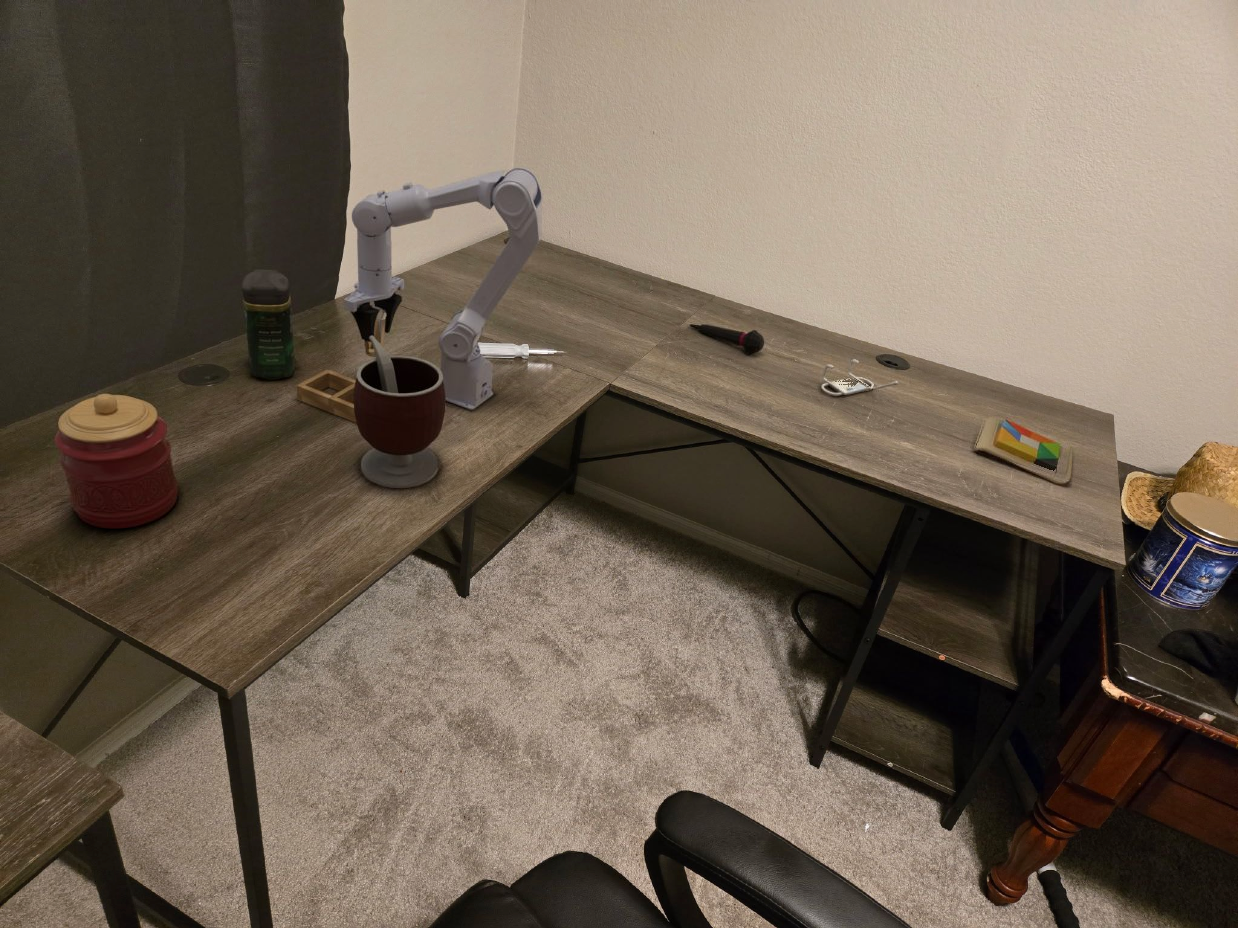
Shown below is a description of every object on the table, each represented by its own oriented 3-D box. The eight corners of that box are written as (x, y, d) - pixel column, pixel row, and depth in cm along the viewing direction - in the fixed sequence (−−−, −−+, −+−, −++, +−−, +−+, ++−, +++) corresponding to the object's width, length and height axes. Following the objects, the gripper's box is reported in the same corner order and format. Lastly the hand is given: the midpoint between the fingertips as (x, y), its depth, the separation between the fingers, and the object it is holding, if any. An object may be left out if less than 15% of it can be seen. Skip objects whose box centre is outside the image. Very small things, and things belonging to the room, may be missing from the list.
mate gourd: (459, 474, 132) (465, 367, 121) (384, 501, 123) (383, 388, 112) (408, 431, 140) (409, 327, 129) (334, 453, 131) (329, 344, 120)
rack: (394, 408, 145) (394, 394, 144) (366, 427, 139) (365, 412, 137) (327, 383, 149) (327, 369, 148) (297, 399, 143) (296, 385, 141)
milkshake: (375, 362, 147) (374, 313, 142) (356, 352, 149) (354, 302, 144) (394, 356, 150) (394, 307, 145) (376, 345, 153) (375, 297, 147)
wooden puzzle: (1066, 488, 160) (1074, 474, 158) (971, 453, 166) (978, 439, 164) (1070, 453, 173) (1077, 439, 171) (982, 421, 179) (988, 408, 178)
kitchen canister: (194, 481, 120) (177, 378, 110) (155, 535, 109) (132, 426, 99) (103, 472, 118) (77, 366, 109) (54, 525, 107) (21, 414, 98)
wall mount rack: (855, 374, 190) (862, 353, 187) (898, 402, 181) (907, 379, 178) (809, 384, 182) (817, 361, 178) (853, 413, 173) (861, 390, 170)
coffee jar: (295, 381, 148) (288, 287, 138) (249, 381, 145) (238, 286, 135) (296, 357, 155) (289, 266, 145) (251, 357, 153) (241, 264, 143)
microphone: (685, 340, 198) (757, 361, 189) (683, 321, 194) (757, 341, 185) (696, 328, 201) (768, 348, 192) (695, 309, 197) (768, 328, 188)
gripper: (381, 249, 147) (382, 317, 155) (328, 270, 136) (331, 342, 143) (413, 259, 145) (412, 327, 153) (362, 281, 134) (364, 353, 141)
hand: (375, 335), depth 148 cm, fingers closed on milkshake, 4 cm apart
